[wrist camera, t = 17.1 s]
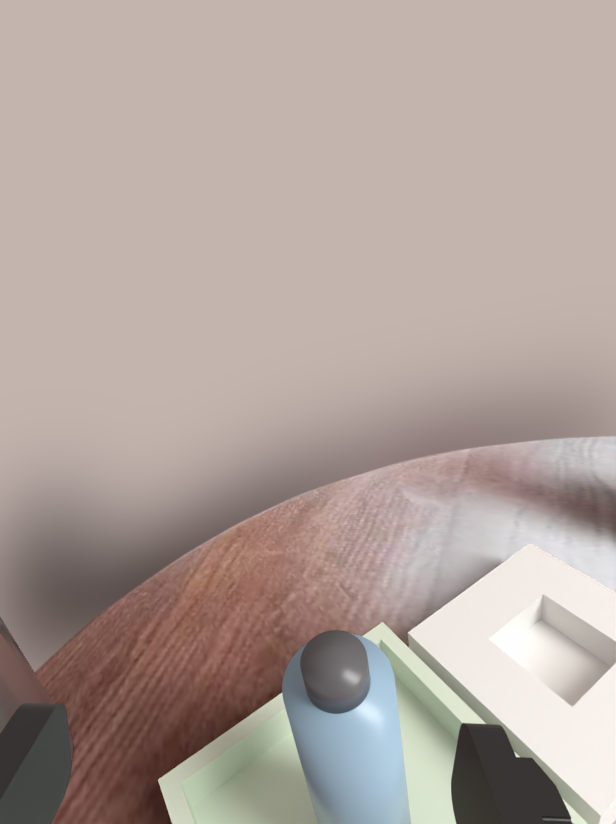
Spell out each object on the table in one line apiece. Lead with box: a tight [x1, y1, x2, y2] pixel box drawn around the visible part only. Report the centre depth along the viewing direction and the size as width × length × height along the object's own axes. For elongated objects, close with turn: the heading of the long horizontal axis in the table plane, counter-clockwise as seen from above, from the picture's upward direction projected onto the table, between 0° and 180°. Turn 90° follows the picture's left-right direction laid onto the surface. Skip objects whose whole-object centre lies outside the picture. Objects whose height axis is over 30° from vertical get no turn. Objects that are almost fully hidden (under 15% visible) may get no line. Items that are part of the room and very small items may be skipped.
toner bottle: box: [282, 630, 411, 824], centre depth 27 cm, size 6×6×18 cm
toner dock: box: [408, 543, 616, 824], centre depth 38 cm, size 16×16×4 cm
